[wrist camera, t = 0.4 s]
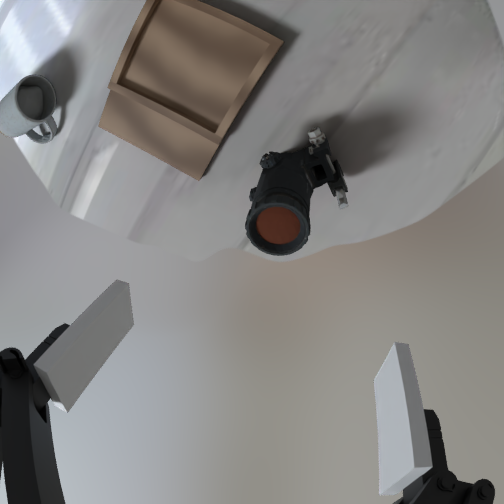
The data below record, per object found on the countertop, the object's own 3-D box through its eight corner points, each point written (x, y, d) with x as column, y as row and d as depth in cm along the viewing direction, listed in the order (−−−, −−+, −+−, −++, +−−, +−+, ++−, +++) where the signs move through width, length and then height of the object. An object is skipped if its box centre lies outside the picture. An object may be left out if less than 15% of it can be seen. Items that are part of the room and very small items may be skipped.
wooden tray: (162, -13, 24) (154, -15, 23) (284, 41, 27) (283, 41, 26) (102, 124, 36) (94, 128, 34) (201, 177, 39) (196, 184, 37)
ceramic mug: (18, 93, 33) (-17, 108, 27) (47, 68, 31) (10, 81, 25) (40, 147, 39) (8, 168, 33) (70, 128, 37) (37, 148, 31)
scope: (363, 245, 25) (259, 279, 29) (346, 179, 36) (273, 207, 40) (327, 160, 21) (212, 209, 25) (318, 119, 32) (242, 153, 36)
